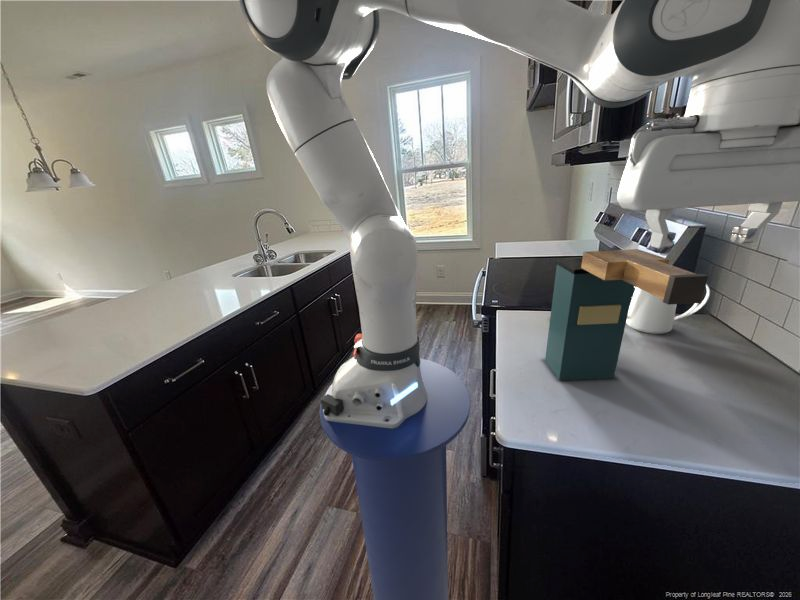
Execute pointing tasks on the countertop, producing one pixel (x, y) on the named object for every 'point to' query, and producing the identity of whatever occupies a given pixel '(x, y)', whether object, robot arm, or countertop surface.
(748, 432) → the countertop surface
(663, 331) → the coffeepot
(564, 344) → the teal box with label
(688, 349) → the countertop surface
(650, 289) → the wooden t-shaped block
